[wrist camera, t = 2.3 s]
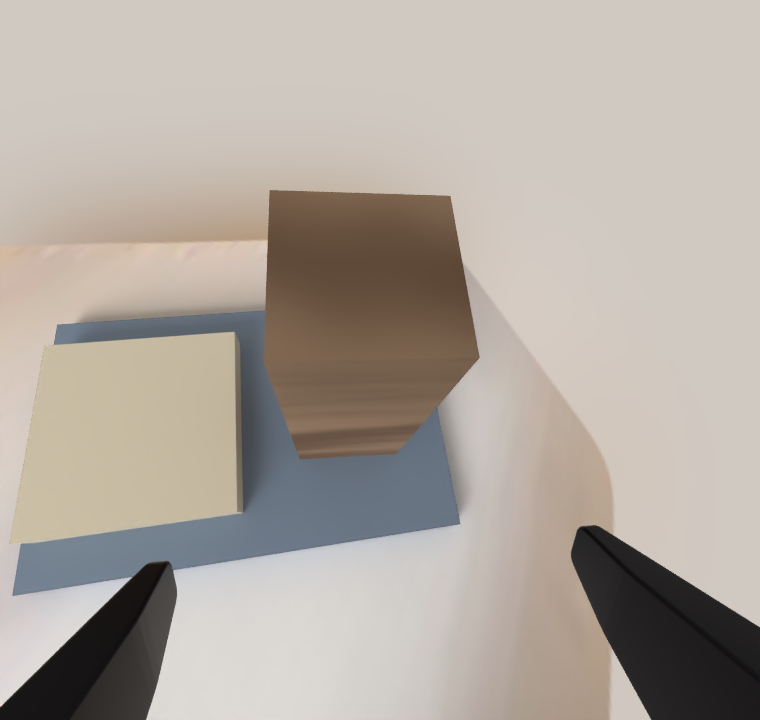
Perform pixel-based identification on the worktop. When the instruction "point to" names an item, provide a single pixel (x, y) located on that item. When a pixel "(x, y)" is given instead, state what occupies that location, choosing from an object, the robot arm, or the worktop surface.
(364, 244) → the walnut pillar
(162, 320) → the board
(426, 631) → the worktop surface
